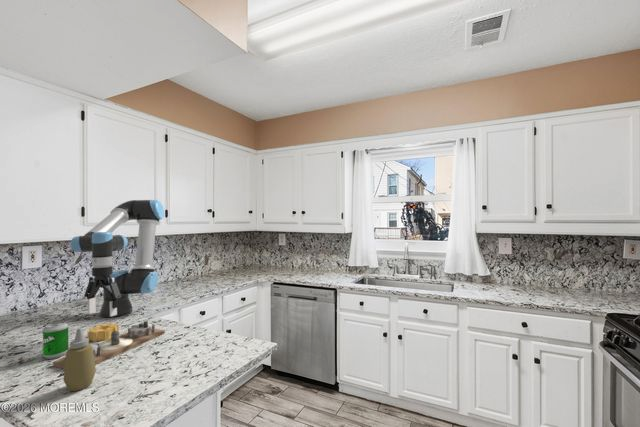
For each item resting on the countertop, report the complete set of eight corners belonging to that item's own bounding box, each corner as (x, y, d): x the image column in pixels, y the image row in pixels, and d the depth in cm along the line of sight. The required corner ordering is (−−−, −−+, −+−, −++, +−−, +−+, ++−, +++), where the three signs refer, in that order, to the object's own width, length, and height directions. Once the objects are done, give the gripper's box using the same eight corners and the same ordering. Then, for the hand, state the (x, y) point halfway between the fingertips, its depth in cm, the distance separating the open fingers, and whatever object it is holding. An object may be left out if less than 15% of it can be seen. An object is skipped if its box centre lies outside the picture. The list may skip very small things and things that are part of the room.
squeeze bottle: (102, 379, 101) (101, 324, 101) (83, 393, 93) (83, 333, 93) (76, 380, 101) (75, 324, 101) (56, 394, 92) (55, 334, 93)
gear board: (141, 330, 144) (141, 315, 144) (164, 333, 140) (164, 318, 140) (53, 366, 110) (52, 346, 110) (79, 372, 106) (79, 352, 106)
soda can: (66, 349, 124) (65, 319, 125) (70, 354, 120) (70, 323, 120) (41, 356, 119) (40, 325, 119) (45, 361, 114) (44, 329, 114)
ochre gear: (107, 330, 144) (106, 322, 144) (123, 333, 141) (123, 324, 141) (82, 339, 134) (82, 330, 134) (99, 342, 130) (99, 333, 130)
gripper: (74, 266, 138) (74, 314, 138) (114, 268, 130) (114, 319, 129) (91, 264, 145) (92, 309, 145) (130, 266, 137) (130, 314, 136)
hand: (102, 314), depth 137 cm, fingers open, 13 cm apart
